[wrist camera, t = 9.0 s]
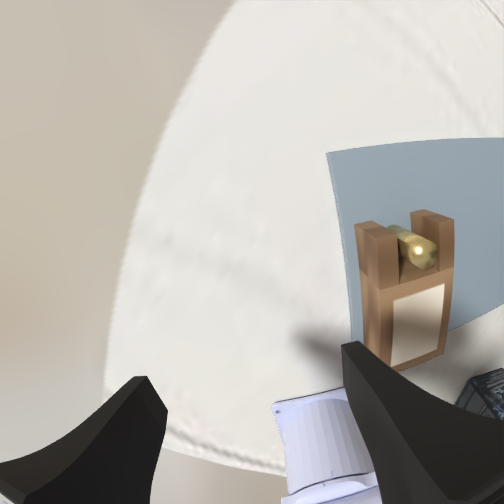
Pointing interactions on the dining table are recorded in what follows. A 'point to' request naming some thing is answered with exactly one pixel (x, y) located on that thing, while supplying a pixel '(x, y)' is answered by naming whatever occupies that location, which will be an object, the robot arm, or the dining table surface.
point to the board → (433, 199)
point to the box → (484, 395)
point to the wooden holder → (405, 291)
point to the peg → (414, 247)
